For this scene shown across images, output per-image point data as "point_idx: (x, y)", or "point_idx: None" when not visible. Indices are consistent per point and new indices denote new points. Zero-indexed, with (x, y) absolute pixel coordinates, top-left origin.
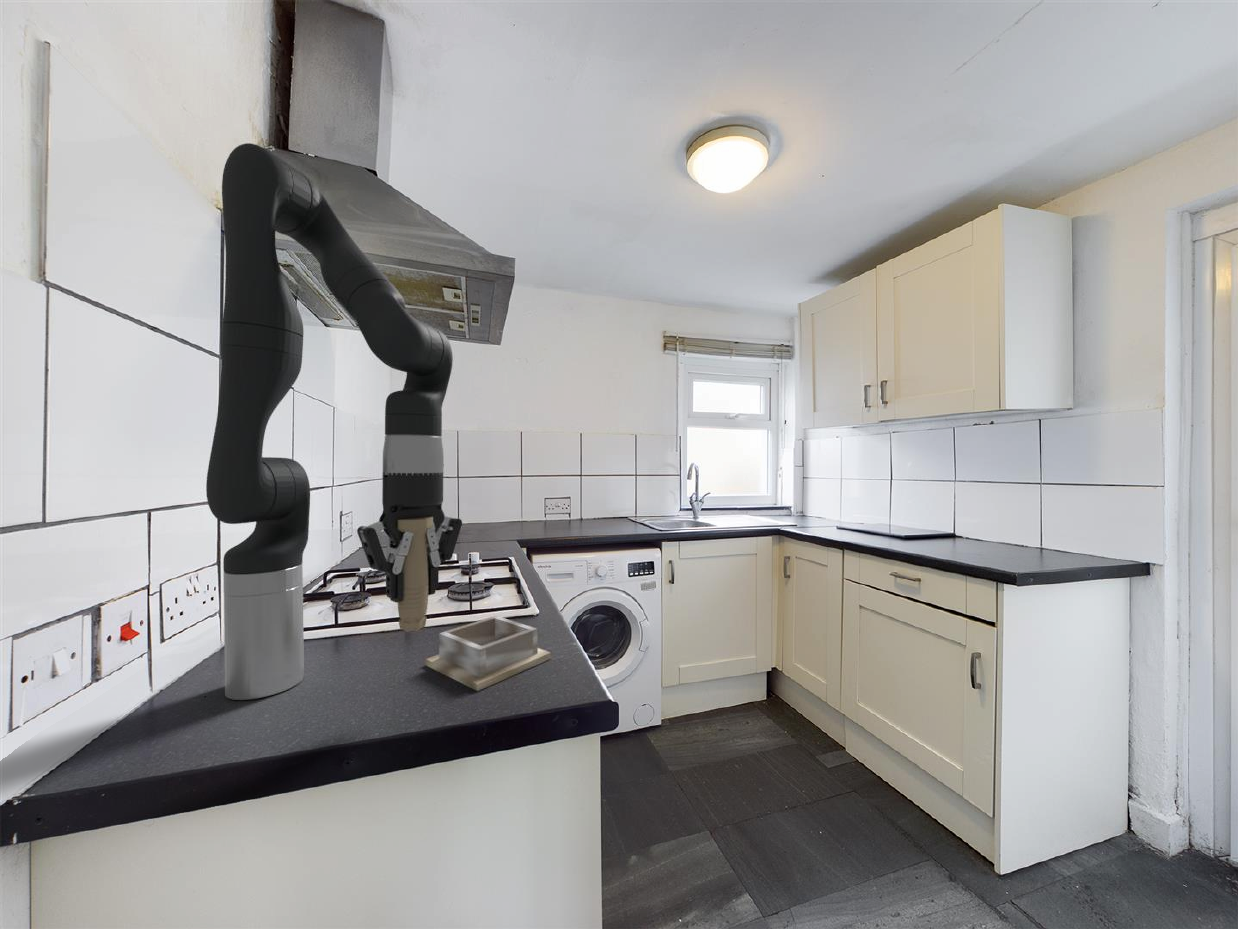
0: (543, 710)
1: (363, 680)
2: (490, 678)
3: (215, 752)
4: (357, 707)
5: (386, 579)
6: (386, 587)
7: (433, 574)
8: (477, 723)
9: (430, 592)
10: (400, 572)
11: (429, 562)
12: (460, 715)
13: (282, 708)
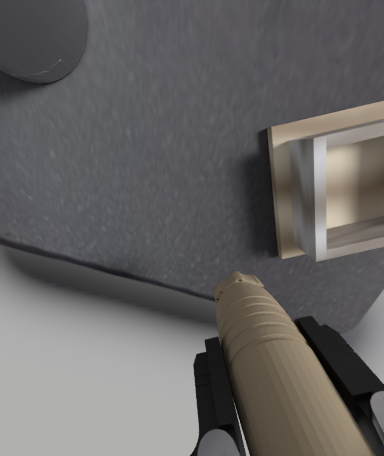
0: None
1: (175, 120)
2: (301, 254)
3: (15, 217)
4: (156, 207)
5: (198, 414)
6: (196, 385)
7: None
8: None
9: None
10: (246, 442)
11: (372, 447)
12: None
13: (69, 144)
